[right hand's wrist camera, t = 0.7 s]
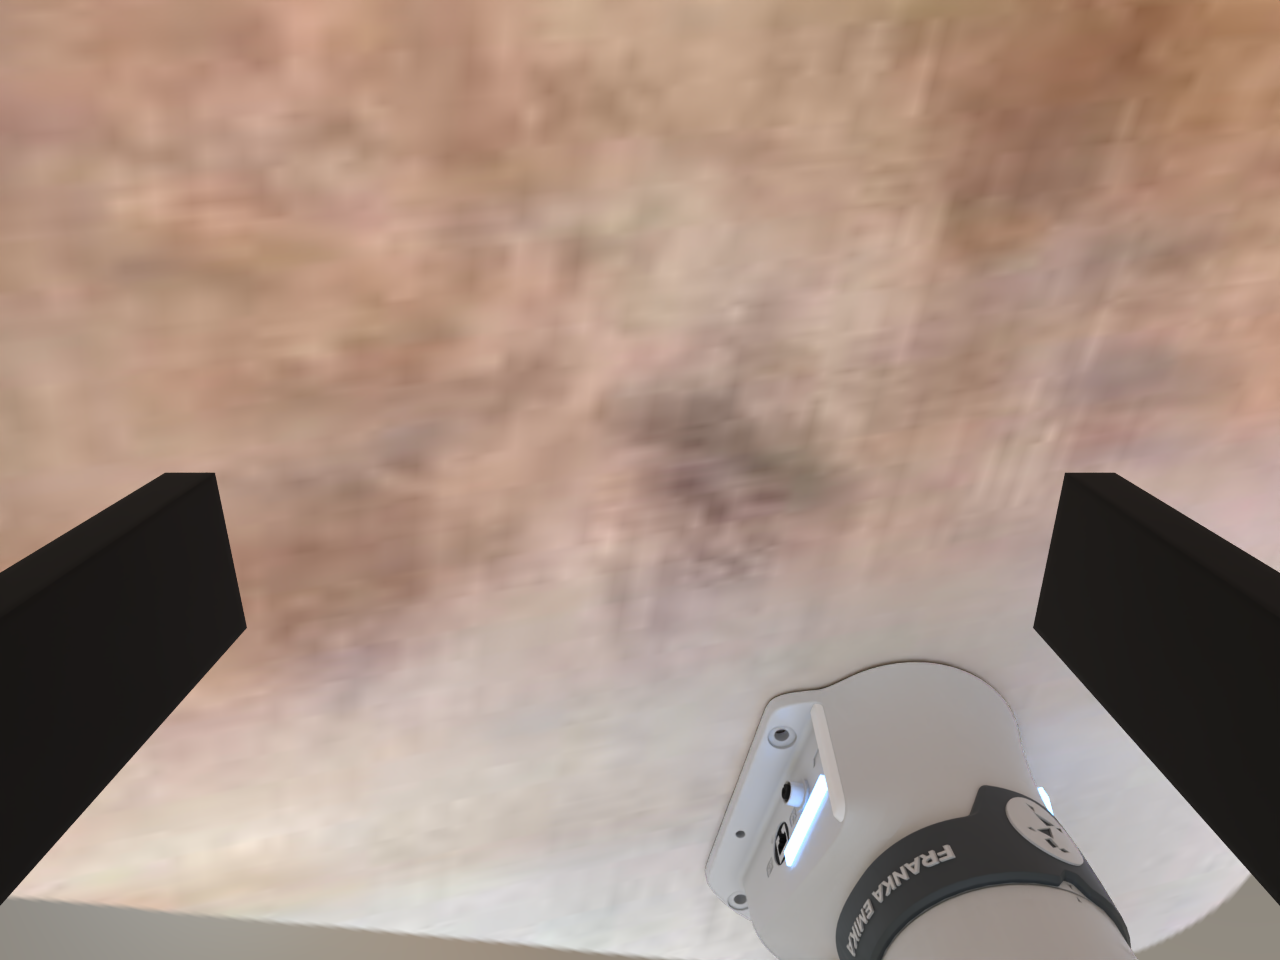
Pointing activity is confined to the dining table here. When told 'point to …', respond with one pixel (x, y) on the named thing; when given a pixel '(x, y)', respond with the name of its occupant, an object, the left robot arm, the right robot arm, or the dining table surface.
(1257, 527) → the dining table surface
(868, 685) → the left robot arm
